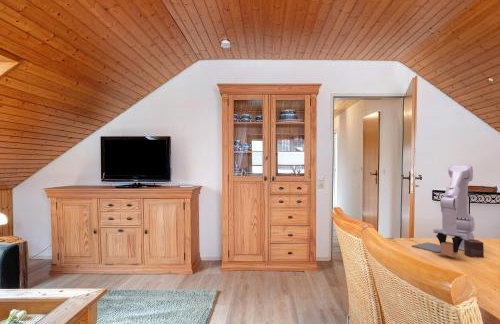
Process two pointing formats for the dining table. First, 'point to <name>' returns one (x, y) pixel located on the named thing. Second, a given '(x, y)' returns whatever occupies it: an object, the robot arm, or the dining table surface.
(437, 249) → the mat
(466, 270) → the dining table surface
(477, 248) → the box
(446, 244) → the cube
